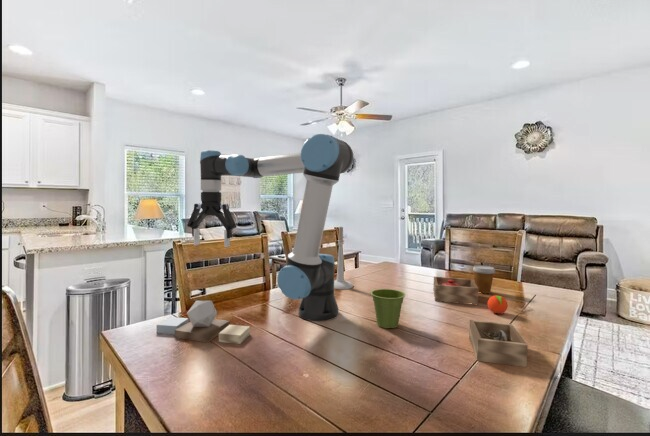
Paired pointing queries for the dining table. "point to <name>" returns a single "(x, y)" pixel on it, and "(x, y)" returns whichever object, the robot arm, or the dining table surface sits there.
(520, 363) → the tray
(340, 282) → the candlestick
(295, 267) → the robot arm
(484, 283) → the disposable coffee cup
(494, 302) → the clementine
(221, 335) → the oak block
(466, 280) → the wooden box
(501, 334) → the eagle figurine
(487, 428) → the dining table surface
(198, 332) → the walnut block
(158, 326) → the grey block
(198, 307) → the die
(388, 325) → the plant pot
